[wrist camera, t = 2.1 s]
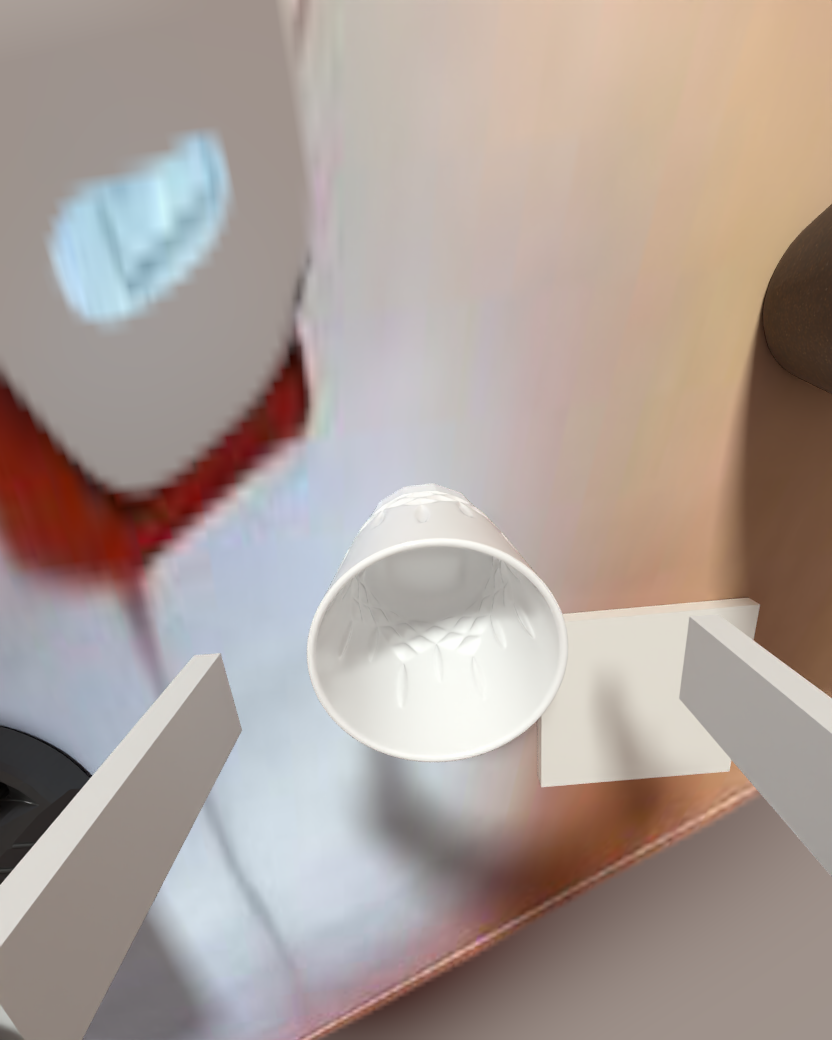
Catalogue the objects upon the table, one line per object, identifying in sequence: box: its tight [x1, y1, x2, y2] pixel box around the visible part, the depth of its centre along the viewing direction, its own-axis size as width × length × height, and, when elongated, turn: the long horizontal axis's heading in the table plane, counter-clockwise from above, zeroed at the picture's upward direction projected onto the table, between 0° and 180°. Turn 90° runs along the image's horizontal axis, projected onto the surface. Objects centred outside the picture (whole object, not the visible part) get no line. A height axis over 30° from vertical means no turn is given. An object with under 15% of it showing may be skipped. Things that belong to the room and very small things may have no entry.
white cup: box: [307, 483, 568, 762], centre depth 17 cm, size 8×8×10 cm
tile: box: [538, 597, 760, 787], centre depth 24 cm, size 12×12×1 cm
